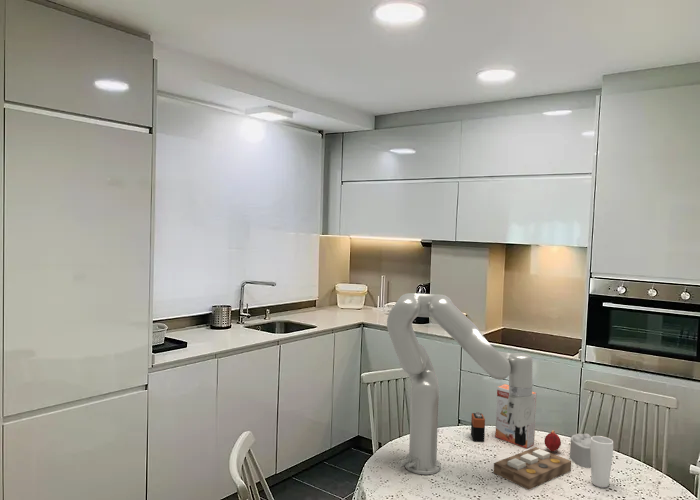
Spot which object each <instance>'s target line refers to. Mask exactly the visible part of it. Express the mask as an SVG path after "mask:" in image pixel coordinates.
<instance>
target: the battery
mask: <svg viewBox="0 0 700 500" xmlns="http://www.w3.org/2000/svg"><path fill="white" fill-rule="evenodd" d="M470 420H471V423H470V424H471V425H470V436H471V439H472V441H473V442H480V443H483V442H485V434H486V432H485V430H486V418H485V416H484V414H483V413H480V411H476V412H472V413H471V419H470Z"/></svg>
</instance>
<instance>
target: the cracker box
mask: <svg viewBox="0 0 700 500" xmlns="http://www.w3.org/2000/svg"><path fill="white" fill-rule="evenodd" d="M496 392H497V393H496V411H495V412H496V415H495V438H497V439H500V440H502V441H505V442H508V443H511V444H514V445H516V446H518V447H522V448H524V449H528V448H530V447H532V446H534V445H535V434H536V432H535V431H536V430H535V429H536V421H535V422H533V423H532V424H530V425H529V426H528V427H527V432H526V445H524V446H521V445H518V444H515V432H514V431H512V430H510V429H509V424H508V423H507V403H508V397H509V384H506V383H504V384H502V385H499V386H497V387H496ZM532 394H533V396H534V402H535V415H536V413H537V412H536V411H537V410H536V409H537V408H536V407H537V392H536V391H535V392H534V391H532Z"/></svg>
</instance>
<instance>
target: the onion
mask: <svg viewBox="0 0 700 500" xmlns="http://www.w3.org/2000/svg"><path fill="white" fill-rule="evenodd" d="M543 441H544V445H545V447H546V448H547V449H548V450H549V452H550V453H553V452H555V451H557V450H559V449H560V448H561V446H562V441H561V438H560V437H559V435H558V434H557V433H556V432H555V430H554V429H552V430H551V432H550V433H548V434H547V435H546V436H545V437H544V440H543Z"/></svg>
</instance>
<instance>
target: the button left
mask: <svg viewBox="0 0 700 500" xmlns="http://www.w3.org/2000/svg"><path fill="white" fill-rule="evenodd" d="M508 466H510V467H513V468H515V469H517V470H520V469H522V468H525V467H526V463H525V462H523V461H521V460H518V459H516V458H515V459H512V460H509V461H508Z"/></svg>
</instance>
